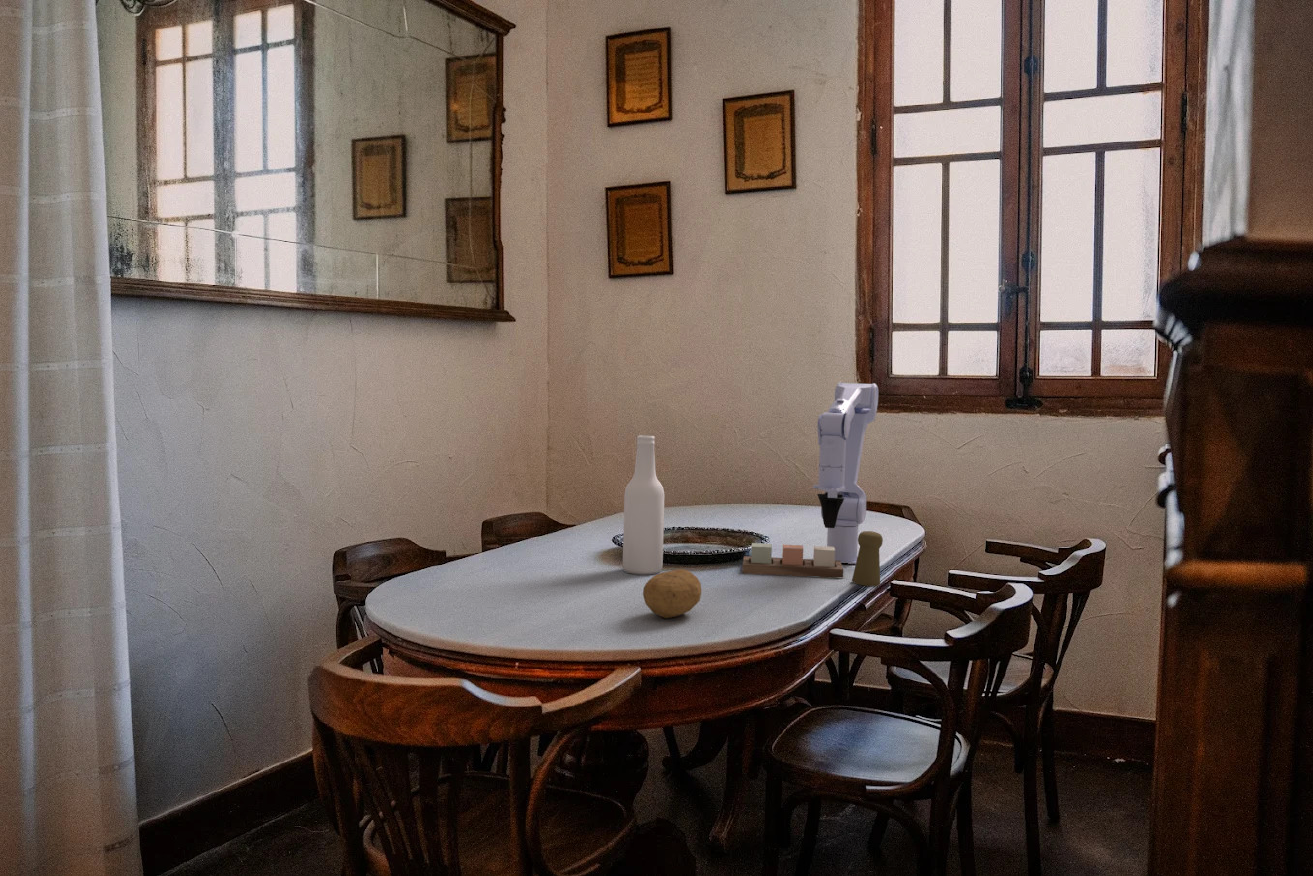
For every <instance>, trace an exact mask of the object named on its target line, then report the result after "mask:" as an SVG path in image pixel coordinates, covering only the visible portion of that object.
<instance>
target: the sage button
mask: <svg viewBox="0 0 1313 876" xmlns="http://www.w3.org/2000/svg"><path fill="white" fill-rule="evenodd" d="M772 548H773V544H772V543H759V542H752V543H751V550H750V551H751V552H750V555H751V563H764V564H771V557H772V556H773V555H772V554H773V553H772V551H773V549H772Z"/></svg>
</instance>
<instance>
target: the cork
mask: <svg viewBox="0 0 1313 876" xmlns="http://www.w3.org/2000/svg"><path fill="white" fill-rule="evenodd" d="M883 542H884V541H883V536H882V534H881V533H879V532H875V531H873V530H872V531H871V530H867V531H866V530H864V531H861V532H860V533H858V545H859V548H858V552H857V561H856V564H854V565H855V567H854V570H853V573H852V579H851V582H853V583H855V584H857V585H860V586H864V587H865V586H867V587H878V586H880V585H881V569H880V568H881V567H880V565H881V564H880V563H881V561H880V548H881V547H882V545H883Z"/></svg>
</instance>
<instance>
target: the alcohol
mask: <svg viewBox="0 0 1313 876" xmlns="http://www.w3.org/2000/svg"><path fill="white" fill-rule="evenodd" d="M636 439H637V440H636V444H637V445H636V454H635V465H634V474H633V476H632V478H631V480H630V481H629V482H628V483H627V484H626V486H625V488H624V489H625V490H624V496H623V497H624V498H623V499H624V500H623V501H624V503H623V506H624V507H623V531H622V532H623V535H622V537H623V539H622V542H623V543H622V569H623V571H624V572H625V573H626V574H631V575H636V576H637V575H638V576H640V575H642V576H650V575H657V574H660V573H661V570H662V569H663V564H664V563H663V560H664V527H665V526H664V524H665V523H664V521H665V490H664V486H663V484H662V483H661V482H660V481H659V480H658V476H657V473H656V458H655V457H656V455H655V444H656V441H655V439H656V437H655V435H648V434H647V435H646V434H645V435H644V434H643V435H637V437H636Z"/></svg>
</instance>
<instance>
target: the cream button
mask: <svg viewBox="0 0 1313 876" xmlns="http://www.w3.org/2000/svg"><path fill="white" fill-rule="evenodd" d="M812 559H813V564H814V566H827V567H835V548H834V547H827V545H825V546H824V545H821V546H820V545H813V558H812Z"/></svg>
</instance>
